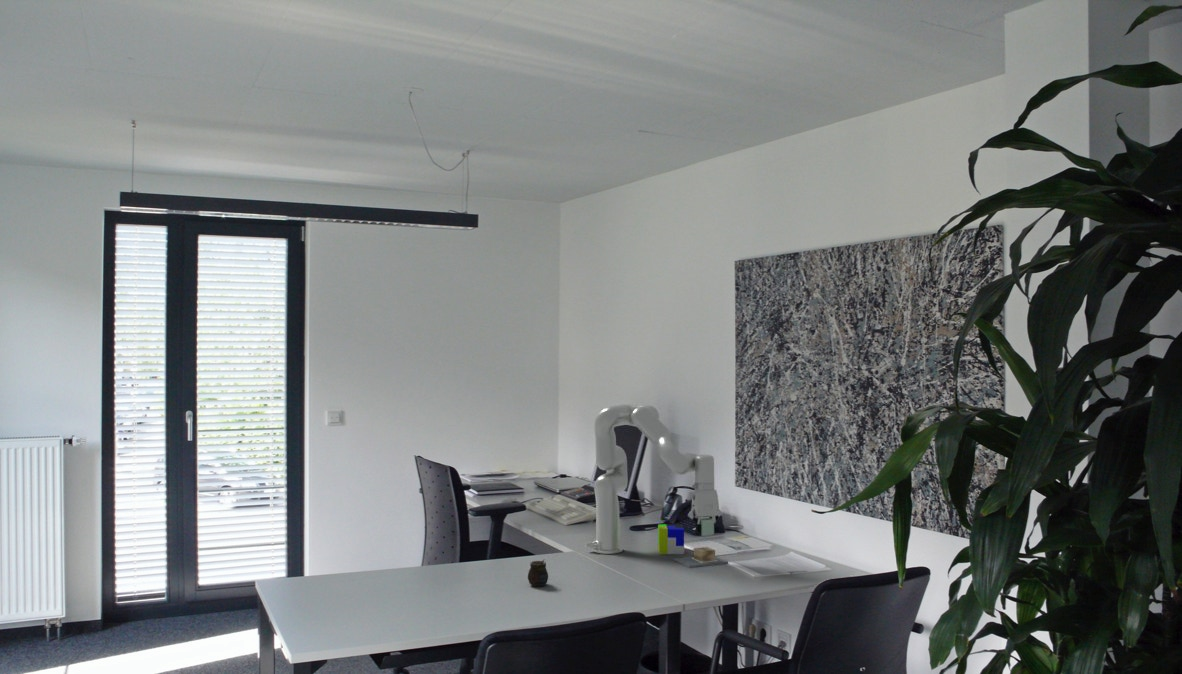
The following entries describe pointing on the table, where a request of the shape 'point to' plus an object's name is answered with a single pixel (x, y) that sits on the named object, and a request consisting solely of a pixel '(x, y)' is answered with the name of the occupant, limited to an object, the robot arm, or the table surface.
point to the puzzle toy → (670, 539)
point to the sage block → (707, 526)
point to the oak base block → (704, 554)
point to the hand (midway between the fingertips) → (705, 532)
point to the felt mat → (699, 562)
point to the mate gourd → (538, 573)
